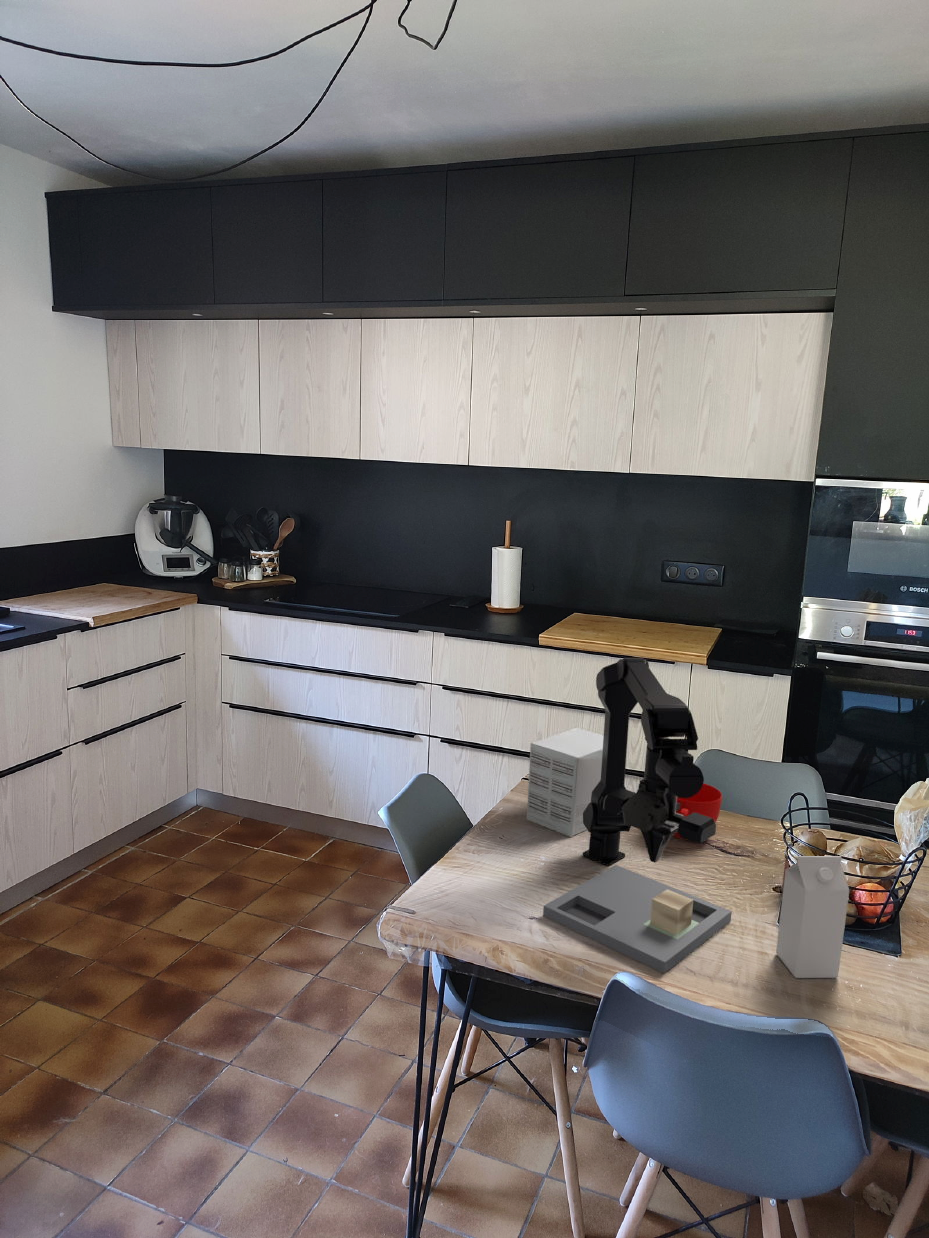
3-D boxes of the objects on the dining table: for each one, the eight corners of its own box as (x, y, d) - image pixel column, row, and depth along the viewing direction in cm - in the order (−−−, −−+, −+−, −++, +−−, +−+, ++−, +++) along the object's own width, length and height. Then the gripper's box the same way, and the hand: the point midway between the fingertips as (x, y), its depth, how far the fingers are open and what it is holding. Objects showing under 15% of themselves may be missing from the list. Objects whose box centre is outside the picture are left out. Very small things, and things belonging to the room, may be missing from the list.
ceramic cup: (648, 846, 183) (651, 801, 181) (662, 817, 198) (666, 776, 196) (711, 859, 178) (716, 813, 176) (721, 829, 193) (725, 786, 192)
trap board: (615, 874, 170) (616, 864, 169) (730, 921, 154) (731, 911, 154) (543, 916, 153) (543, 905, 153) (664, 973, 137) (665, 962, 137)
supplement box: (570, 799, 207) (575, 726, 203) (617, 816, 198) (623, 740, 194) (524, 819, 194) (528, 741, 191) (572, 838, 185) (577, 757, 182)
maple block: (665, 913, 152) (667, 889, 151) (691, 924, 149) (693, 899, 148) (650, 923, 148) (652, 898, 147) (676, 935, 145) (678, 910, 144)
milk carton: (775, 953, 144) (787, 846, 141) (816, 953, 145) (830, 846, 141) (795, 979, 137) (808, 866, 134) (838, 978, 138) (852, 866, 135)
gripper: (588, 771, 147) (581, 857, 150) (688, 803, 135) (679, 897, 137) (624, 756, 155) (617, 838, 158) (721, 786, 143) (712, 874, 146)
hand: (653, 861), depth 149 cm, fingers closed
